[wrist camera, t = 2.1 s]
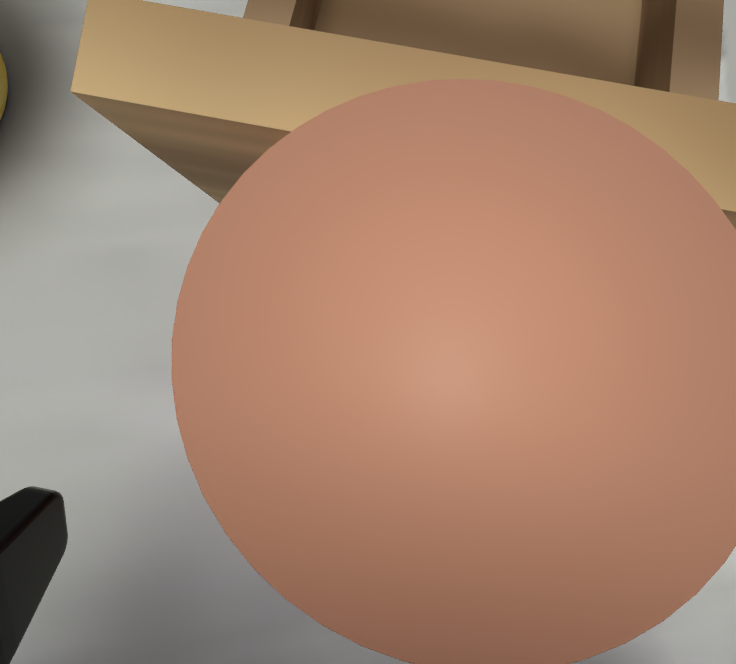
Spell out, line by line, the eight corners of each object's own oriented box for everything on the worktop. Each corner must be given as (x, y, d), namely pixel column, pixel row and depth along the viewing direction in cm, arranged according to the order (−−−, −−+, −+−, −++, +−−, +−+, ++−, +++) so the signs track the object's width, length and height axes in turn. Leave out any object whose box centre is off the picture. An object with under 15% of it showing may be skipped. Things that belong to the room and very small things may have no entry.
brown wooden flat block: (587, 404, 18) (958, 236, 7) (243, 337, 19) (58, 73, 7) (602, 265, 20) (944, -79, 8) (277, 205, 20) (161, -204, 8)
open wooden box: (637, 258, 20) (752, 149, 14) (248, 186, 20) (203, 53, 14) (661, -18, 22) (765, -204, 17) (320, -75, 23) (306, -274, 17)
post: (511, 531, 17) (895, 561, 5) (329, 584, 17) (246, 766, 5) (454, 355, 19) (643, 28, 6) (284, 401, 18) (123, 149, 6)
